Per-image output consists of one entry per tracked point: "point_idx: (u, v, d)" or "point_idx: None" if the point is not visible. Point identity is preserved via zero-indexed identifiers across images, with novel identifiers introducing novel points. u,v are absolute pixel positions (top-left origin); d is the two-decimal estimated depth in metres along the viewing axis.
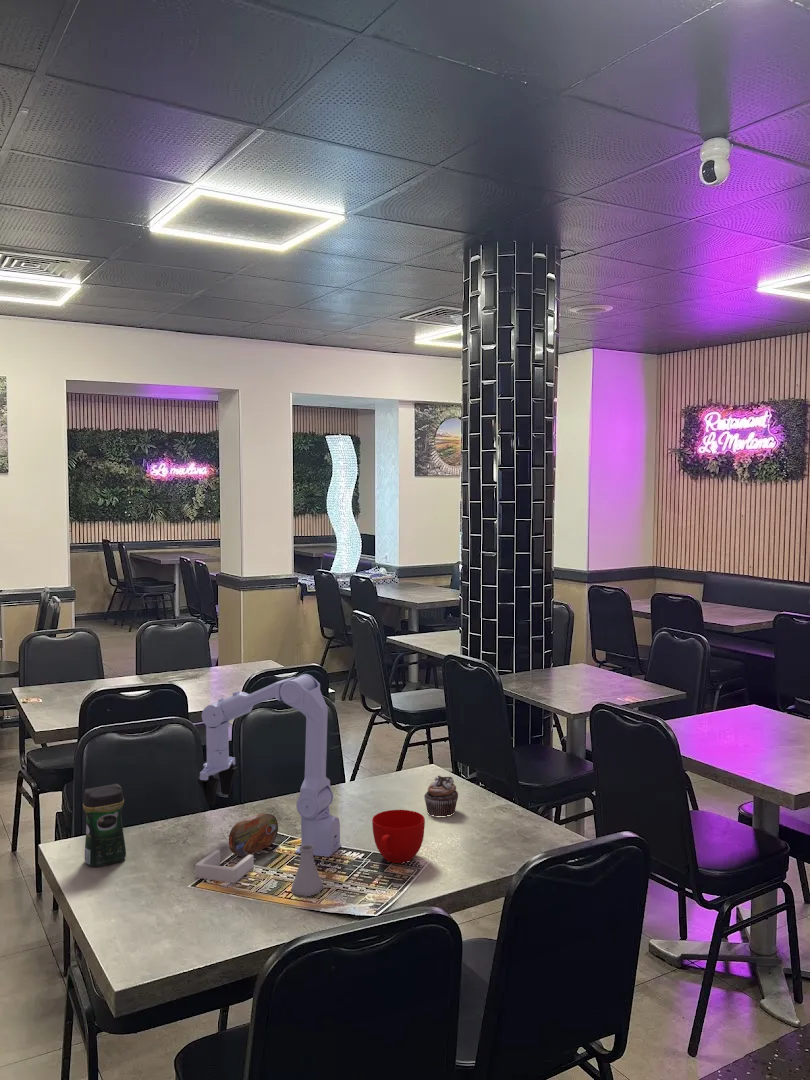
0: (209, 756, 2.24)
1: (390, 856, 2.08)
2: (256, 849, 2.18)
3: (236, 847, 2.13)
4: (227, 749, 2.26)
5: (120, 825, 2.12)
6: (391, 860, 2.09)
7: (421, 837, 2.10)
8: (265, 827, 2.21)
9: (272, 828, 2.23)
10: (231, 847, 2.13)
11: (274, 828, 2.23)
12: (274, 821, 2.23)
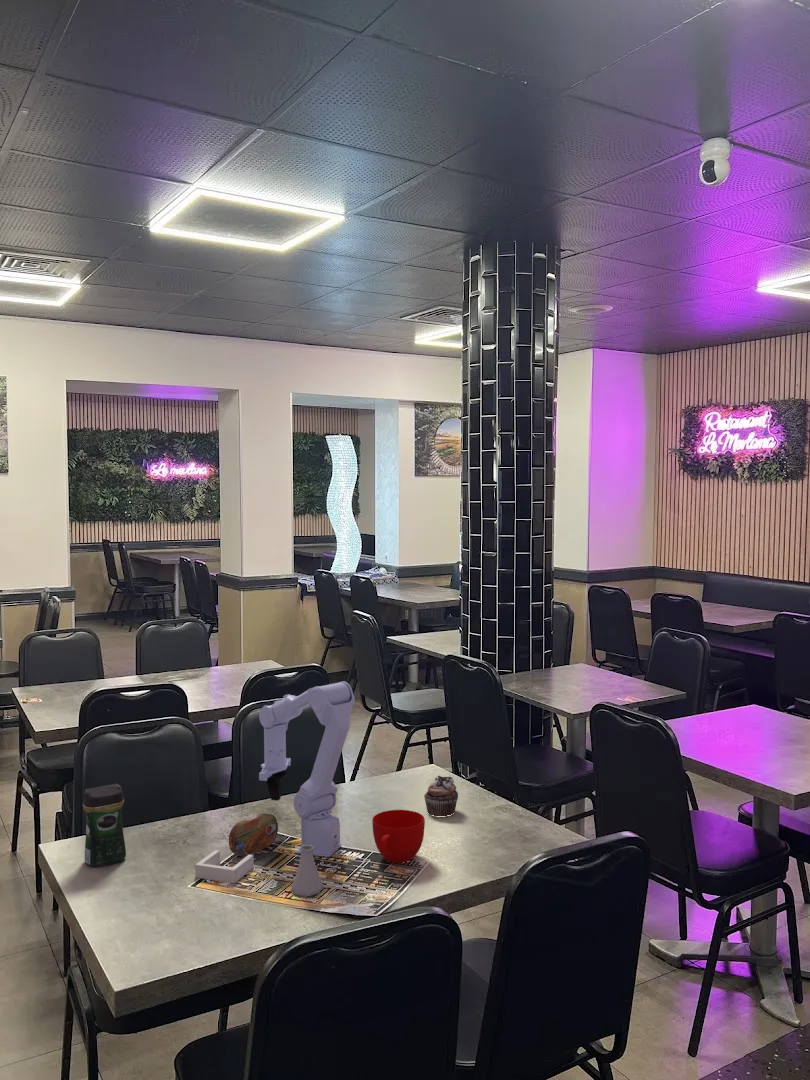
0: (267, 757, 2.27)
1: (390, 856, 2.08)
2: (256, 849, 2.18)
3: (236, 847, 2.13)
4: (284, 750, 2.29)
5: (120, 825, 2.12)
6: (391, 860, 2.09)
7: (421, 837, 2.10)
8: (265, 827, 2.21)
9: (272, 828, 2.23)
10: (231, 847, 2.13)
11: (274, 828, 2.23)
12: (274, 821, 2.23)
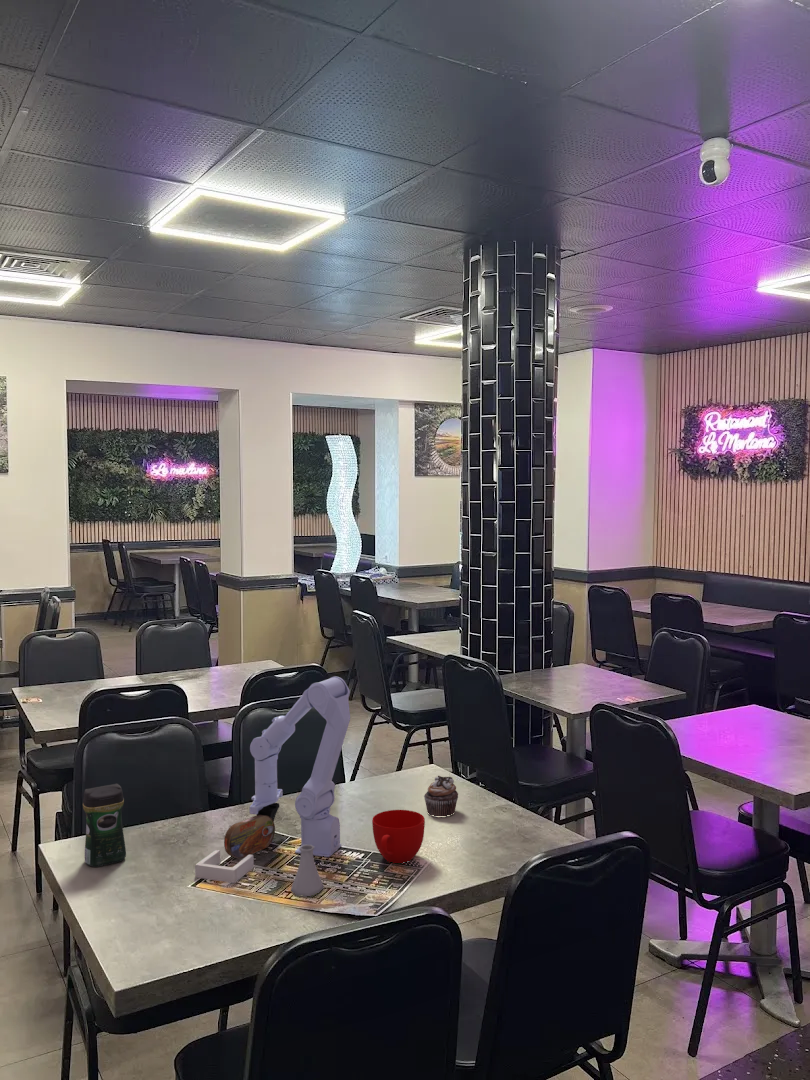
0: (258, 789, 2.23)
1: (390, 856, 2.08)
2: (252, 851, 2.16)
3: (231, 849, 2.12)
4: (276, 782, 2.24)
5: (120, 825, 2.12)
6: (391, 860, 2.09)
7: (421, 837, 2.10)
8: (262, 829, 2.19)
9: (269, 830, 2.21)
10: (226, 849, 2.12)
11: (271, 830, 2.22)
12: (271, 823, 2.22)
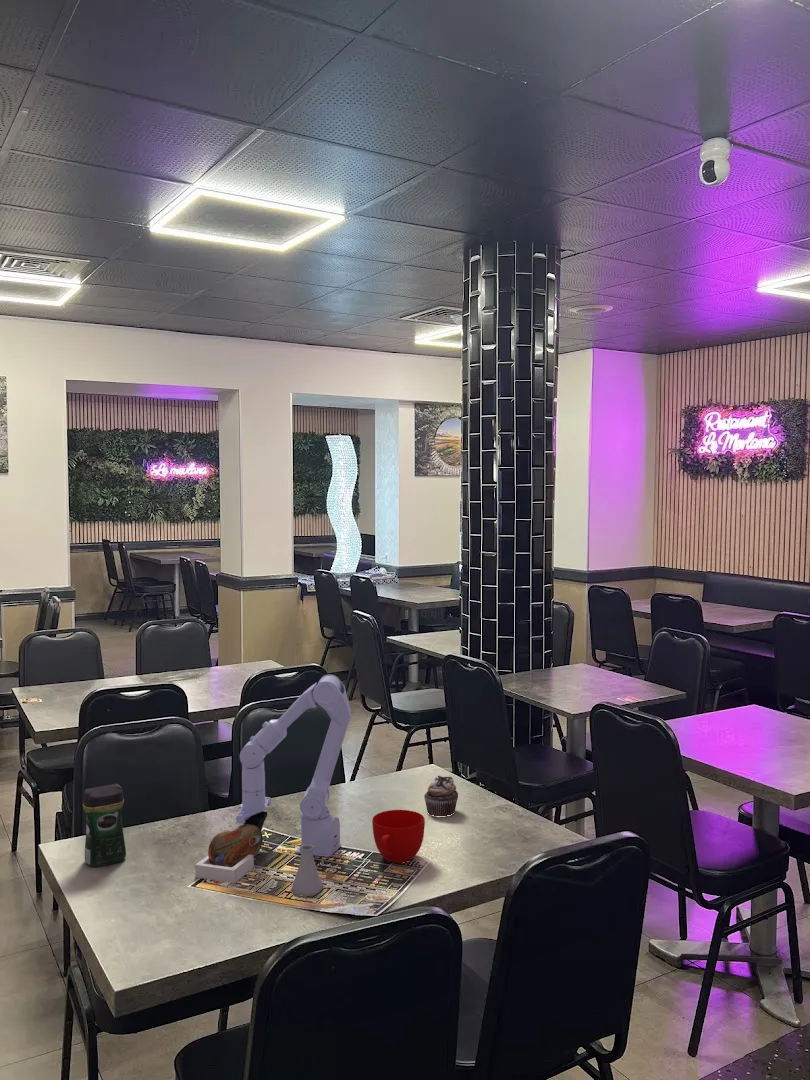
0: (245, 797, 2.16)
1: (390, 856, 2.08)
2: (238, 861, 2.10)
3: (215, 859, 2.05)
4: (263, 790, 2.18)
5: (120, 825, 2.12)
6: (391, 860, 2.09)
7: (421, 837, 2.10)
8: (249, 839, 2.13)
9: (256, 840, 2.15)
10: (210, 859, 2.06)
11: (258, 840, 2.15)
12: (258, 832, 2.15)
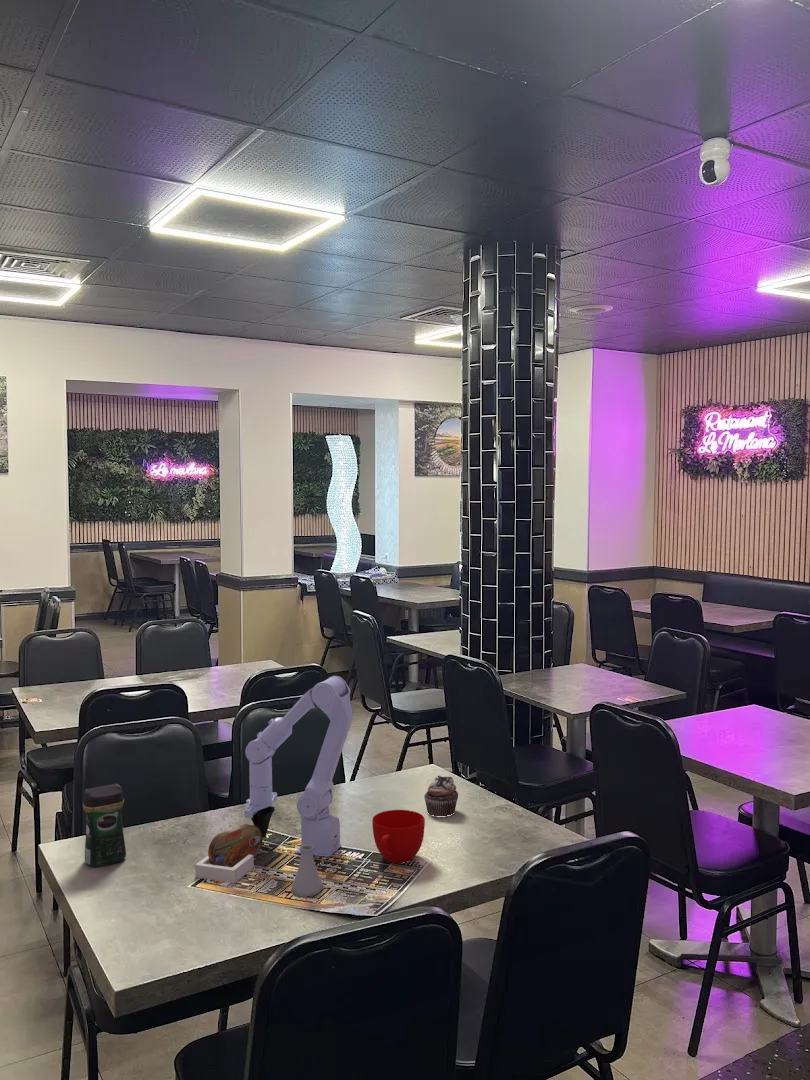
0: (253, 793, 2.20)
1: (390, 856, 2.08)
2: (238, 862, 2.10)
3: (215, 859, 2.05)
4: (271, 785, 2.22)
5: (120, 825, 2.12)
6: (391, 860, 2.09)
7: (421, 837, 2.10)
8: (249, 839, 2.13)
9: (256, 840, 2.15)
10: (210, 859, 2.06)
11: (258, 840, 2.15)
12: (258, 833, 2.15)
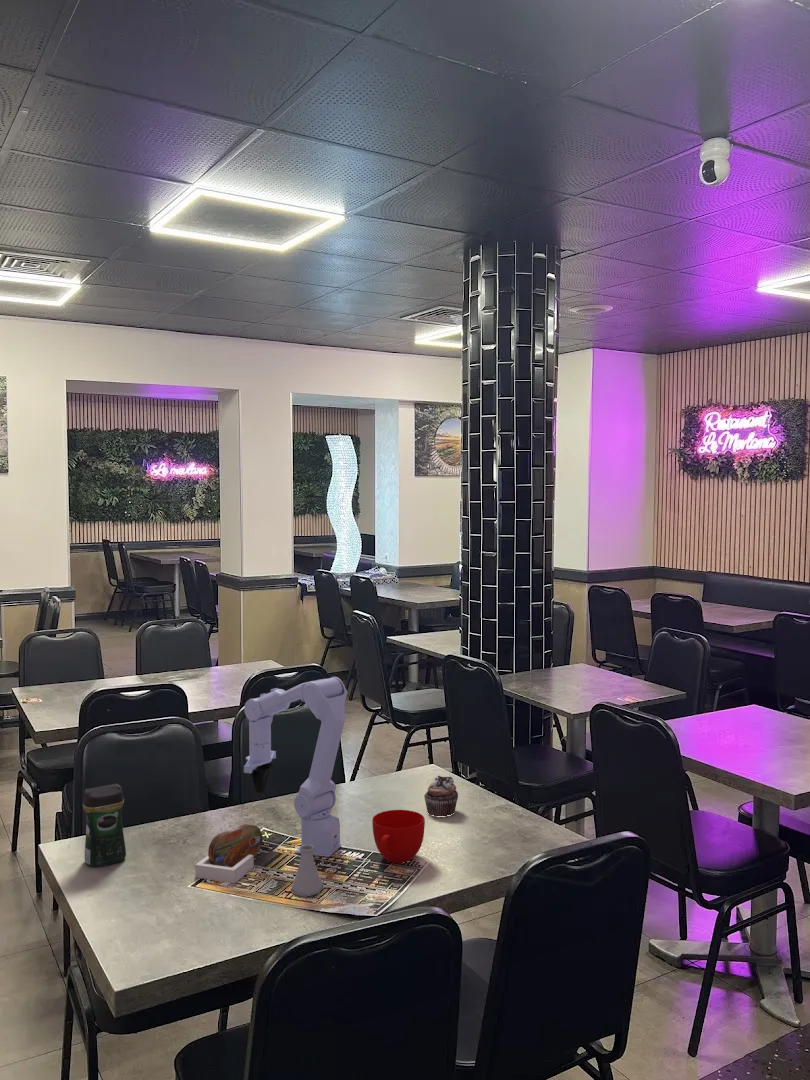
0: (252, 749, 2.28)
1: (390, 856, 2.08)
2: (238, 861, 2.10)
3: (215, 859, 2.05)
4: (269, 743, 2.30)
5: (120, 825, 2.12)
6: (391, 860, 2.09)
7: (421, 837, 2.10)
8: (249, 839, 2.13)
9: (256, 840, 2.15)
10: (210, 859, 2.06)
11: (258, 840, 2.15)
12: (258, 833, 2.15)
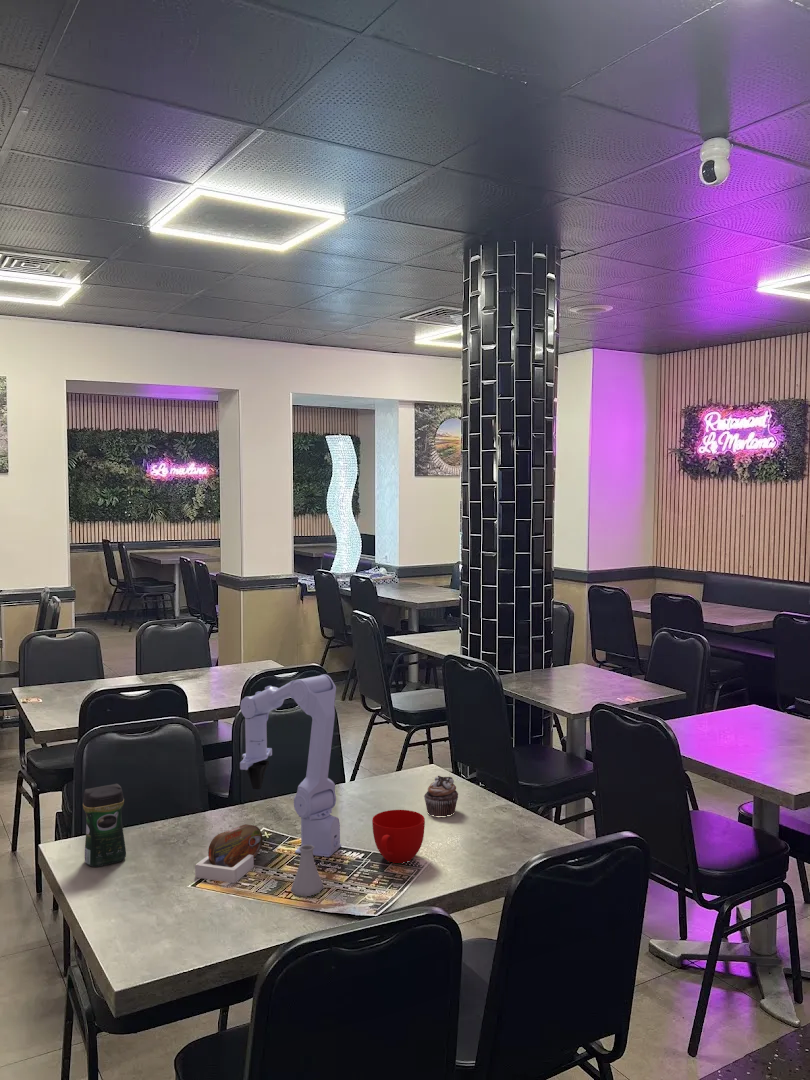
0: (248, 746, 2.32)
1: (390, 856, 2.08)
2: (238, 862, 2.10)
3: (216, 859, 2.05)
4: (265, 740, 2.34)
5: (120, 825, 2.12)
6: (391, 860, 2.09)
7: (421, 837, 2.10)
8: (249, 839, 2.13)
9: (256, 840, 2.15)
10: (210, 859, 2.06)
11: (258, 840, 2.15)
12: (258, 833, 2.15)
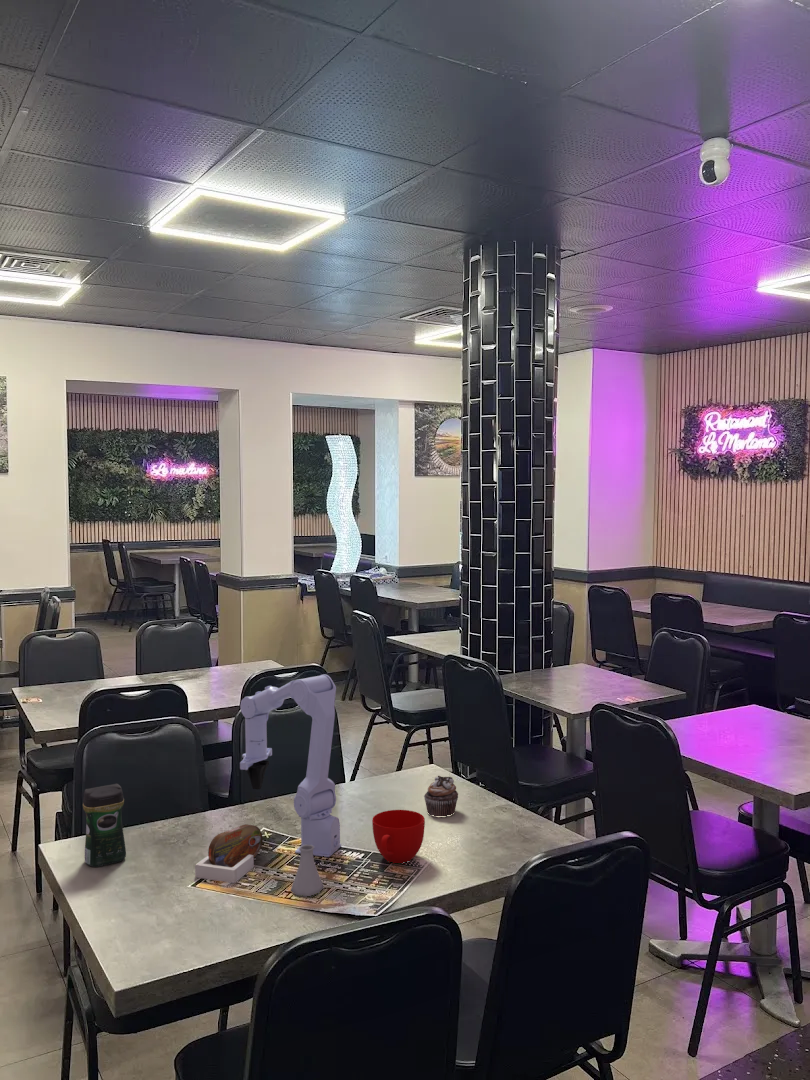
0: (248, 746, 2.32)
1: (390, 856, 2.08)
2: (238, 862, 2.10)
3: (216, 859, 2.05)
4: (265, 740, 2.34)
5: (120, 825, 2.12)
6: (391, 860, 2.09)
7: (421, 837, 2.10)
8: (249, 839, 2.13)
9: (256, 840, 2.15)
10: (210, 859, 2.06)
11: (258, 840, 2.15)
12: (258, 833, 2.15)
